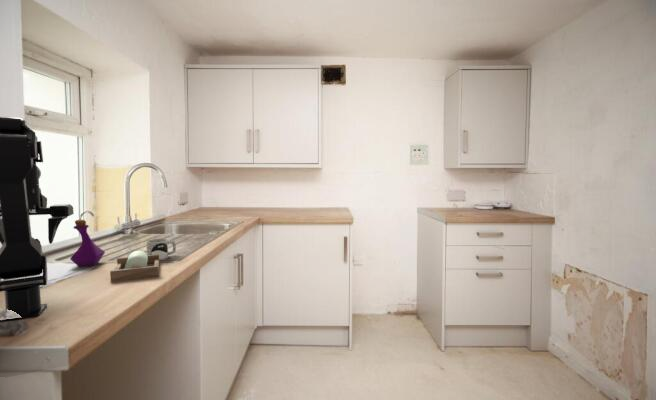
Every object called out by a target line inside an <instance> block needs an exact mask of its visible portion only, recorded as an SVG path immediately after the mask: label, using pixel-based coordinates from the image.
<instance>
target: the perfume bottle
mask: <svg viewBox="0 0 656 400" xmlns="http://www.w3.org/2000/svg"><path fill="white" fill-rule="evenodd" d="M86 213H88V214H90V215H91V216H92V218H95V217H94V216H95V214H94V213H93V212H92V211H90V210H87V211H86V210H85V211H84V212H82V213H81V214H80V218H79V219H76V220H75V221H74V223H75V225H74V226H73V229H75V230H77V232H79V234H80V237H81V244H80V246H79V247H78V248H77V250H76V251H75V252H74V253H73V254H72V255H71V257H69V258H70V261H72V262H73V263H74V264H75V265H77V267H79V266H87V267H94V266H96V265H97V264H98V263H99V262H100V260H101V259H102V258H103V256H104V254H105V253H106V252H105V251H104V250H103V249H102V248H101V247H100V246H98V245H97V244H95V242H94V241H93V240H92V239H91V236H90V235H89V234H88V231H87V230H88V228H89V227H90V226H89V224H87V220H85V219H82V217H83V216H84V215H85V214H86Z"/></svg>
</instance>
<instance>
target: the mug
mask: <svg viewBox="0 0 656 400" xmlns="http://www.w3.org/2000/svg"><path fill="white" fill-rule="evenodd" d="M169 244H170V245H171V244H172V250H170V251H169V250H168V249H169V248H168V245H169ZM176 246H177V245H176V241H175V240H168V239H167V238H153V239H152V238H151V239H148V240H146V254H147V255H156V254H159V262H161V260H162V261H166V260H168V259H169V256H170V255H173V254H175V253H176V249H177V247H176ZM167 258H168V259H167ZM165 259H166V260H165Z"/></svg>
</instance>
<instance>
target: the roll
mask: <svg viewBox="0 0 656 400" xmlns="http://www.w3.org/2000/svg"><path fill="white" fill-rule="evenodd" d="M127 257H128V260H127V262H126V265H125V267H124V269H129V268H138V267H148V265H147V261H148V256H147V252H145V251H142V250H135V251H133V252H131V253H130V254H129V256H127Z"/></svg>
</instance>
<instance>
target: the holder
mask: <svg viewBox="0 0 656 400" xmlns="http://www.w3.org/2000/svg"><path fill="white" fill-rule="evenodd" d="M147 256H148V261H147V267H138V268H129V269H125V265H126V262H127V260H128V257H129V256H124V257H117V258H116V265H115V267H114V269H112V270H110V271H109V273H110V275H109V277H110V283H113V282H121V281H129V280H138V279H147V278H148V277H149V278H155V277H156V276H157V277H159V273H160V272H159V271H160V261H159V254H156V255H147ZM122 268H123V269H122Z"/></svg>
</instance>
